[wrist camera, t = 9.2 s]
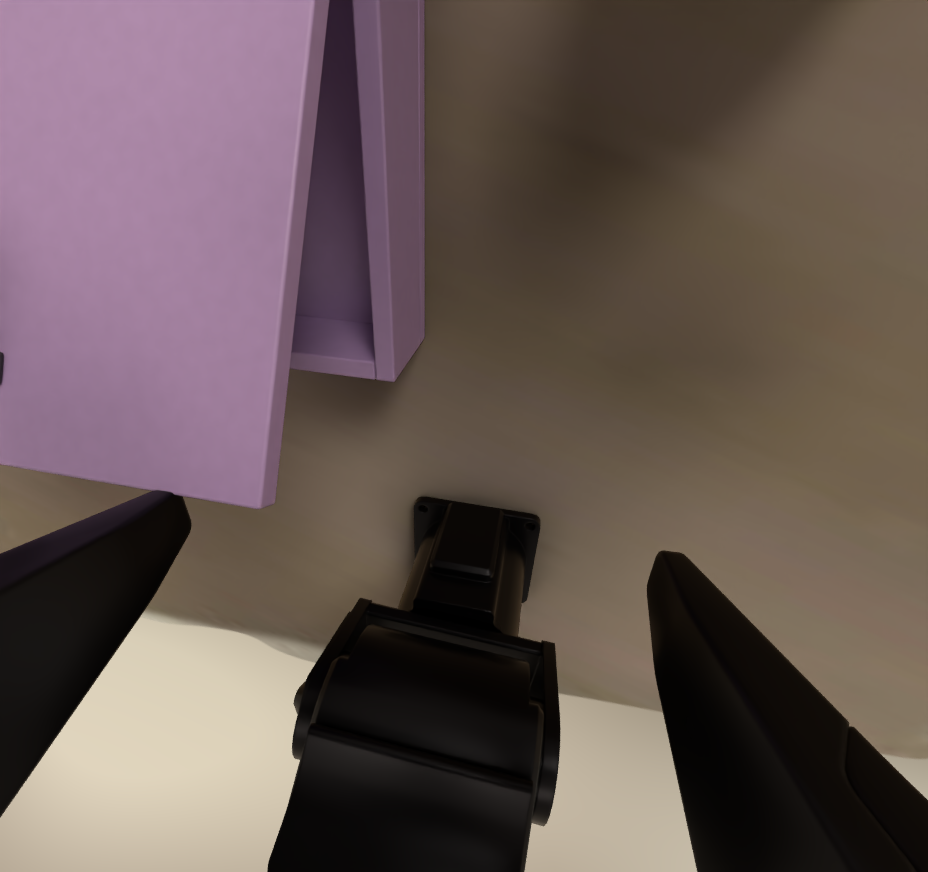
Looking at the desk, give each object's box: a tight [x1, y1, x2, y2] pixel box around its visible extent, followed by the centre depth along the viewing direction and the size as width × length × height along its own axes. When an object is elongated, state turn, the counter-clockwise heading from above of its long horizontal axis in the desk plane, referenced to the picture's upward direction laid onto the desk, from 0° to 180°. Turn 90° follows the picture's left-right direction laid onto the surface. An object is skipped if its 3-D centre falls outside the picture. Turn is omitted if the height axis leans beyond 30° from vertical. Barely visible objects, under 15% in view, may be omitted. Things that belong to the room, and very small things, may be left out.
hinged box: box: [289, 0, 425, 382], centre depth 15 cm, size 14×16×4 cm
